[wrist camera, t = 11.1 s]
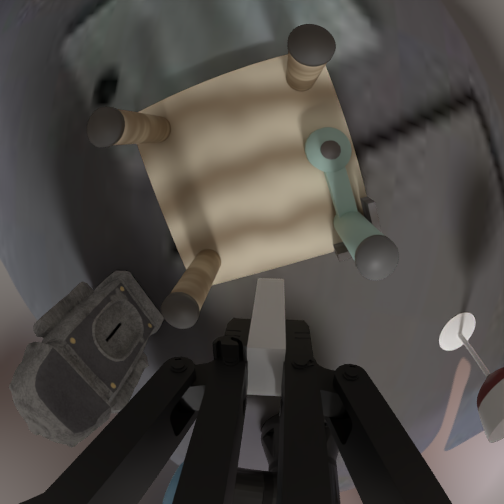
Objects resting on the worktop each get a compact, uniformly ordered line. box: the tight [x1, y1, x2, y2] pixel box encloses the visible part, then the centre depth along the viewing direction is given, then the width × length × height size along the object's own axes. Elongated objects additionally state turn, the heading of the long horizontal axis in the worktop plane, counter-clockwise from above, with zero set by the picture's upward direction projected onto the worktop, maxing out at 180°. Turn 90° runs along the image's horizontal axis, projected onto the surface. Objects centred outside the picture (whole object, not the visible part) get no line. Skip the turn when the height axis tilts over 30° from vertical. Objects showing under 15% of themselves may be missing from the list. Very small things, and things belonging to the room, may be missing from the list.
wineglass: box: [439, 312, 504, 443], centre depth 28 cm, size 8×9×20 cm
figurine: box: [9, 270, 164, 447], centre depth 29 cm, size 10×14×25 cm
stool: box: [87, 24, 381, 329], centre depth 26 cm, size 22×22×14 cm
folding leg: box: [305, 127, 399, 280], centre depth 24 cm, size 12×4×11 cm, turn 20°
